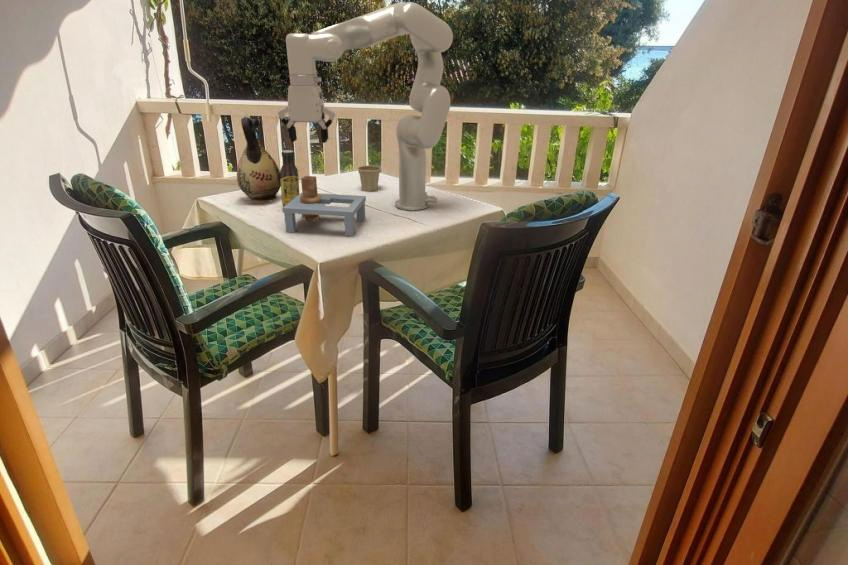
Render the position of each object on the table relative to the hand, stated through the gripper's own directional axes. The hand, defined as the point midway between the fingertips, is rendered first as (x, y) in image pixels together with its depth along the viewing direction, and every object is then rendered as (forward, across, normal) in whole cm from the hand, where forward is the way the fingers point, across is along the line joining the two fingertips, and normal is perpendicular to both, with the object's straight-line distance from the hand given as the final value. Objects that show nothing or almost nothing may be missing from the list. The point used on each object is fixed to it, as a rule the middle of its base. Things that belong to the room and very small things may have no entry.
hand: (309, 141), depth 150 cm
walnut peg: (+24, +1, +2) cm, 24 cm away
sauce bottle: (+26, +14, -14) cm, 33 cm away
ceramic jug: (+26, +28, -21) cm, 44 cm away
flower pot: (+27, -8, -42) cm, 51 cm away
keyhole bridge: (+26, -4, +2) cm, 27 cm away
